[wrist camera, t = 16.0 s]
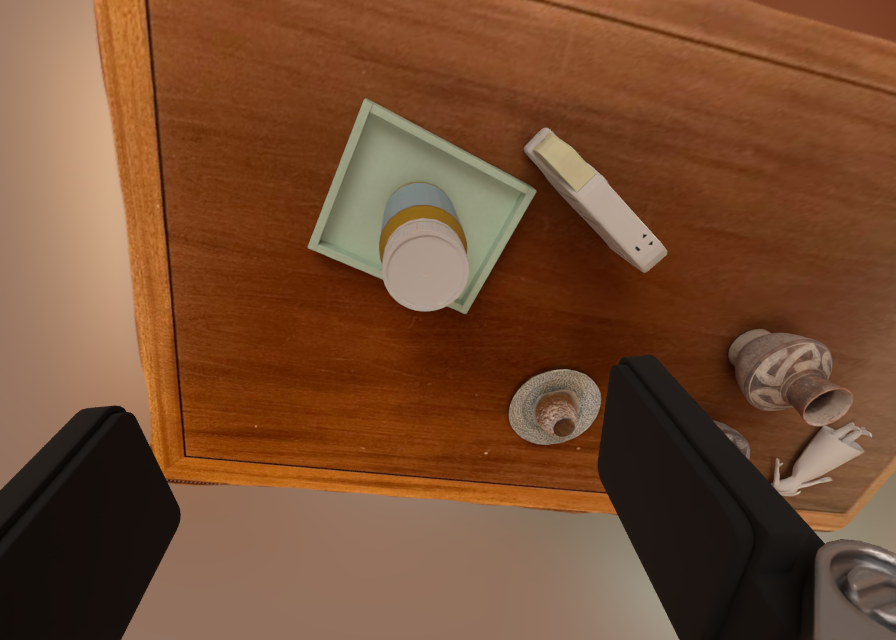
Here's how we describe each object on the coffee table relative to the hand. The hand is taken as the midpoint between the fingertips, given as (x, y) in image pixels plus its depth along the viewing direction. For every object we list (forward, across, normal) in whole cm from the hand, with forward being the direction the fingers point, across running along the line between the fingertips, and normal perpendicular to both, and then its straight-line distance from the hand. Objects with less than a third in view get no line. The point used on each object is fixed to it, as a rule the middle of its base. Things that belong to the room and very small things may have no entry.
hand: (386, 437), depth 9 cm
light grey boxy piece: (+38, -17, +4) cm, 42 cm away
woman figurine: (+38, -55, +47) cm, 82 cm away
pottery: (+38, -38, +32) cm, 63 cm away
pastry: (+38, -16, +32) cm, 52 cm away
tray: (+38, -2, +6) cm, 39 cm away
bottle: (+38, -1, +6) cm, 38 cm away
